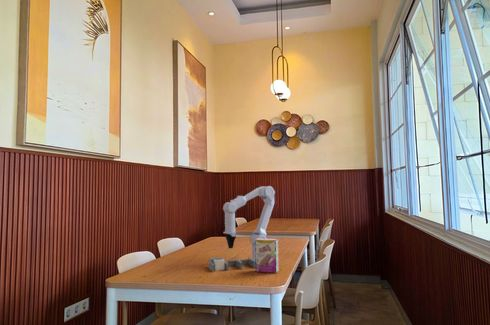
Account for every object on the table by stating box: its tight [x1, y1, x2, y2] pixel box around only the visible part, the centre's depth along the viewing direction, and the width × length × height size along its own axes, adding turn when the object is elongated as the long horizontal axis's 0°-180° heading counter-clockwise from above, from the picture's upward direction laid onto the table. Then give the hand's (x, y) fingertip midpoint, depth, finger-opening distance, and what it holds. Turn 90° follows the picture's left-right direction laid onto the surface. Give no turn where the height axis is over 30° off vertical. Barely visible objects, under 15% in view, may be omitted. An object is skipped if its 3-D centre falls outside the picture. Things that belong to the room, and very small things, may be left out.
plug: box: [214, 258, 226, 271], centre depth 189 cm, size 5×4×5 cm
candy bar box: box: [255, 238, 280, 274], centre depth 181 cm, size 11×5×16 cm, turn 71°
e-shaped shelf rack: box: [207, 256, 256, 273], centre depth 192 cm, size 24×12×5 cm, turn 106°
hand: (230, 248), depth 199 cm, fingers closed
